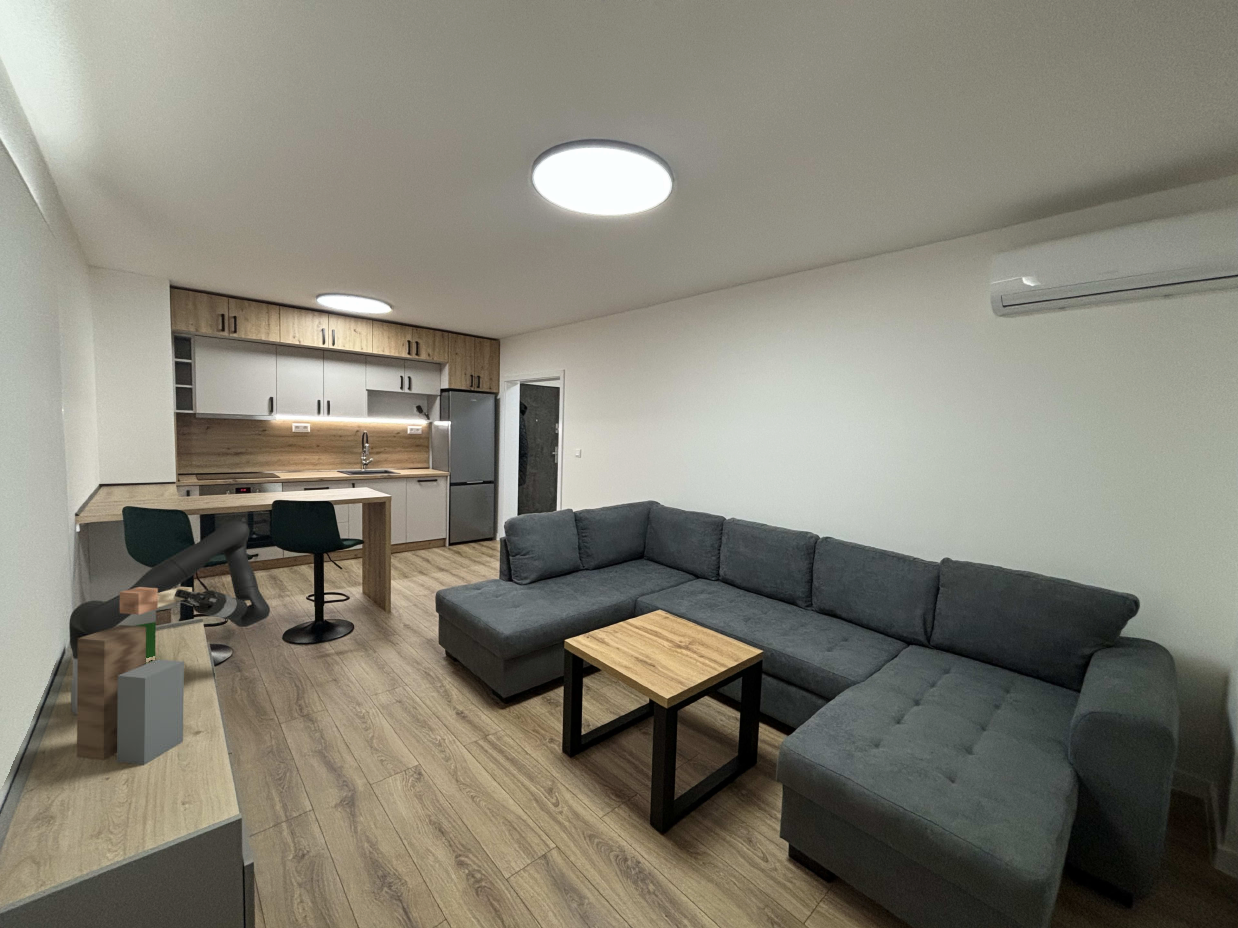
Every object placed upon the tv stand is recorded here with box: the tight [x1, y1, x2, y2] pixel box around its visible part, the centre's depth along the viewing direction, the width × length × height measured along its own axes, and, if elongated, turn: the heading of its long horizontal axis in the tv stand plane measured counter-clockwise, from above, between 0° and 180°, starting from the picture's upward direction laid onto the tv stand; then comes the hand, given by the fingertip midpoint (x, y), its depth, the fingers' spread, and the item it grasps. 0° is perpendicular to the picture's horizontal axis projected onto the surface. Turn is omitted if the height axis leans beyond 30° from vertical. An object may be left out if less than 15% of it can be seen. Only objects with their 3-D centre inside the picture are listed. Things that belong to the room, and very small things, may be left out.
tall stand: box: [76, 625, 147, 761], centre depth 130 cm, size 10×8×32 cm
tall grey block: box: [116, 658, 185, 765], centre depth 129 cm, size 10×8×23 cm
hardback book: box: [103, 600, 157, 658], centre depth 178 cm, size 18×7×24 cm, turn 138°
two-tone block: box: [119, 586, 193, 615], centre depth 142 cm, size 16×6×6 cm, turn 174°
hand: (170, 592), depth 145 cm, fingers closed on two-tone block, 4 cm apart
